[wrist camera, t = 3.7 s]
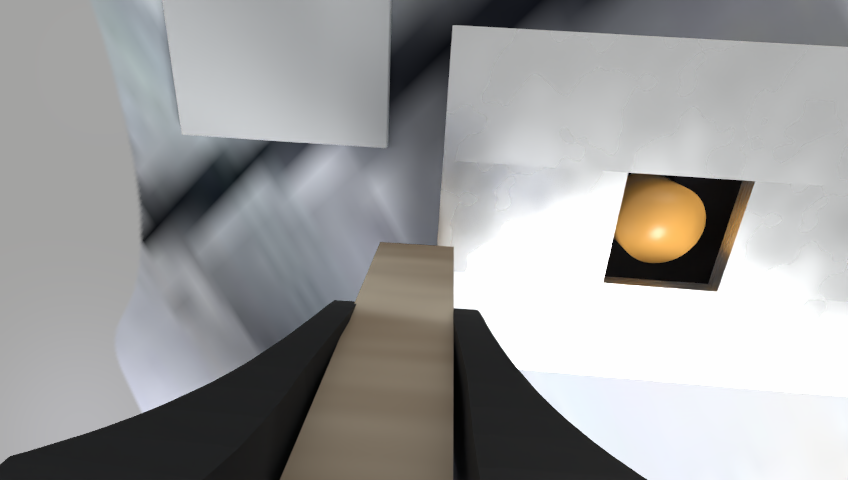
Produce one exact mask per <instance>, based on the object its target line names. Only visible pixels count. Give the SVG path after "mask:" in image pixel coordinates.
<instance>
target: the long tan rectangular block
mask: <svg viewBox="0 0 848 480" xmlns="http://www.w3.org/2000/svg"><path fill="white" fill-rule="evenodd" d="M354 304H356V306H355V309H354V311H353V313H352V316H351V318H350V321H349V323H348V324H347V326H346V328H345V330H344V331H343V333H342V335H341V337H340V339H339V341H338V343H337V346H336V348H335V350H334V353H333V355H332V358H331V360H330V362H329V365H328V367H327V369H326V372H325V374H324V377H323V379H322V381H321V384H320V386H319V388H318V391H317V393H316V395H315V398H314V400H313V403H312V405H311V407H310V410H309V412H308V414H307V417H306V419H305V421H304V424H303V426H302V429H301V431H300V433H299V436H298V438H297V440H296V443H295V445H294V447H293V450H292V452H291V455H290V457H289V459H288V462H287V464H286V466H285V469H284V471H283V473H282V476H281V478H280V480H453V356H454V330H453V310H454V247H450V246H434V245H418V244H402V243H386V242H380V244H379V246H378V249H377V251H376V254H375V256H374V258H373V261H372V263H371V265H370V268H369V270H368V272H367V275H366V277H365V280H364V282H363V284H362V287H361V289H360V291H359V294H358V296H357V298H356V301H355V303H354Z"/></svg>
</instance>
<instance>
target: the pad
mask: <svg viewBox="0 0 848 480" xmlns="http://www.w3.org/2000/svg"><path fill="white" fill-rule="evenodd" d="M162 4H163V11H164V17H165V24H166V31H167V38H168V45H169V51H170V58H171V65H172V72H173V79H174V85H175V92H176V99H177V106H178V113H179V119H180V126H181V133H182V135H195V136H210V137H225V138H240V139H255V140H270V141H285V142H300V143H315V144H330V145H345V146H360V147H375V148H387V147H388V135H389V95H390V54H391V13H392V0H162Z"/></svg>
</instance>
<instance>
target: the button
mask: <svg viewBox="0 0 848 480" xmlns="http://www.w3.org/2000/svg"><path fill="white" fill-rule="evenodd" d="M705 223H706V212H705V207H704V205H703V203H702V201H701V199H700V198H699V197H698V196H697V194H695V193H694V192H693V191H691V190H690V189H688V188H686V187H684V186H682V185H680V184H678V183H676V182H674V181H672V180H670V179H668V178H666V177H664V176H662V175H656V174H641V173H634V174H631V175H629V176H627V181H626V185H625V189H624V194H623V198H622V202H621V207H620V211H619V215H618V220H617V224H616V228H615V233H614V237H613V238H614V239H615V240H616V241H617V242H618V243H619V244H620V245H621V246H622V247H623V248H624V249H625V251H626V252H627V253H628V254H630V255H631V256H632V257H634V258H635V259H637V260H640V261H643V262H647V263H663V262H668V261H671V260H674V259H676V258H678V257H680V256H682V255H684V254H685V253H686V252H688V251H689V250H690V249H691V248H692V247H693V246H694V245H695V244H696V243H697V241H698V240H699V238H700V237H701V235H702V233H703V230H704V227H705Z"/></svg>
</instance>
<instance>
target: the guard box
mask: <svg viewBox="0 0 848 480" xmlns="http://www.w3.org/2000/svg"><path fill="white" fill-rule="evenodd" d="M628 173H641V174H656V175H671V176H685V177H700V178H715V179H730V180H742V183H741V186H740V189H739V192H738V195H737V198H736V201H735V204H734V208H733V211H732V214H731V217H730V220H729V223H728V226H727V229H726V232H725V235H724V238H723V241H722V244H721V247H720V250H719V253H718V256H717V259H716V262H715V265H714V268H713V271H712V274H711V277H710V280H709V283H708V284H700V283H687V282H673V281H660V280H647V279H634V278H621V277H608V276H605V272H606V267H607V263H608V259H609V254H610V250H611V246H612V241H613V237H614V233H615V228H616V224H617V220H618V215H619V211H620V207H621V202H622V198H623V194H624V189H625V185H626V181H627V176H628ZM437 246H450V247H454V308H459V309H475V310H478V311H479V312H480V313H481V314H482V316H483V318H484V320H485V322H486V323H487V325H488V327H489V328H490V330H491V332H492V333H493V335H494V336H495V338H496V339H497V341H498V342H499V344H500V345H501V347H502V348H503V350H504V351H505V352H506V354H507V355H508V356H509V358H510V359H511V361H512V362H513V363H514V365H515V366H516V367H517V368H518V369H523V370H535V371H547V372H558V373H570V374H582V375H594V376H606V377H617V378H629V379H641V380H653V381H664V382H676V383H688V384H700V385H712V386H723V387H735V388H747V389H759V390H770V391H782V392H794V393H806V394H818V395H829V396H841V397H847V395H848V47H841V46H823V45H805V44H787V43H769V42H751V41H733V40H715V39H696V38H678V37H660V36H642V35H624V34H606V33H588V32H569V31H551V30H533V29H515V28H497V27H479V26H461V25H453V28H452V42H451V56H450V70H449V84H448V98H447V112H446V126H445V140H444V154H443V168H442V182H441V196H440V210H439V224H438V238H437Z"/></svg>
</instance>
